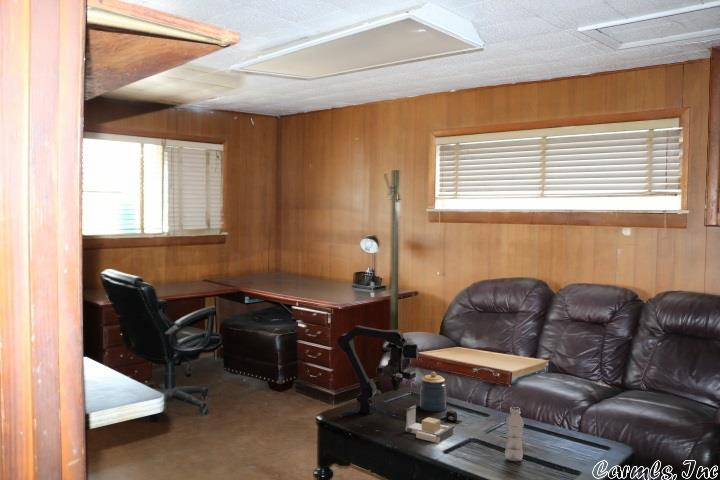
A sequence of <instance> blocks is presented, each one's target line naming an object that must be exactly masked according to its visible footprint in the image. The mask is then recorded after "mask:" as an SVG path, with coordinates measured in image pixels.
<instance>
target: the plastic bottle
mask: <svg viewBox="0 0 720 480" xmlns="http://www.w3.org/2000/svg"><path fill="white" fill-rule="evenodd" d="M505 422H506V424H505V425H506V446H505V452H504V454H505V458H506V459H507V460H508V461H512V462H519V461H522V460H523V456H524V451H523V443H522V442H523V440H522V439H523V429H524V426H525V425H524V423H525V422H524V419H523V418H522V417H521V408H520V407H517V406H516V407H515V406H512V407H510V408H509V415H508V416H507V418H506V421H505Z"/></svg>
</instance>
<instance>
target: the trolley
mask: <svg viewBox="0 0 720 480" xmlns="http://www.w3.org/2000/svg"><path fill="white" fill-rule="evenodd" d="M416 408H417V405H416V404H414V405H412V406H410V407H408V408H406V410H405V411H406V425H405V432H407V433H409V434H415V435H416V432H417V431H419V432H423V433H427V434H431V435H435V436H436V434H438V433H440V432H442V431H443V430H445V429H443V428H442V429H440V425H441V420H440V419H437V418H434V417H429V416H428V417H426V418H424V419H422V420H421V422H416V420H417V419H416V415H417V414H416V413H417V411H416V410H417V409H416Z"/></svg>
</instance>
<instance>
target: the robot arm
mask: <svg viewBox="0 0 720 480" xmlns="http://www.w3.org/2000/svg"><path fill="white" fill-rule="evenodd" d="M357 336H363V337H369V338H376V339H380V340H384V341H386V342H387V343H388V344H387V345H386V346H385V348H387V349H389V359H387V364H386V365H380V366H377V367H376V369H375V370H376V371H375V374H378V375H383V376H384V377H387V378H388V379H389V380H390V382H391V385H392V388H393V391H395V392H397V391H398V389H399V387H400V384H401V383H402V380H403V379H404V380H412V379H415V378H416V377H417V376H416V375H417V373H416V371H414V370H409V369H408V370H404V367H403V362H404V359H403V358H405V359H411V360H418V358H419V354H420V353H419V347H418V346H419V345H418V344H417V343H408V341H407V340H406V338H405V337H404V334H403V331H401V330H400V329H387V330H386V329H379V328H375V327H368V326H364V325H363V326H362V325H361V324H360V325H359V324H358V325H356V326H355V327H354V328H353V329H351V330H349V332H345V333H343V334H341V335H340V336H338V338H337V341H336V342H337V345H338V347H339V348H340V349H341V351H342V352H343V353H344V354H345V355H346V357H347V359H348V361H349V363H350V366H351V367H352V368H351V369H353V372H354V374H355V376H356V378H357V380H358V383H359V390H360V393H359V394H358V395H357V396H356V400H357V401H356V402H357V405H356V406H357V410H356V411H355V414H359V415H363V416H369V415H371V414H373V413H374V411H375V410H373V400H372V398H373V397H374V395H375V394H376V392H377V385H376V383H375V381H374V378H371V379H370V378H369V377H368V375H367V373H366V370H365V368H364V366H363V364H362V363H361V361H360V358H359V355H358V354H357V352H356V349H355V342H354V339H355V338H357Z"/></svg>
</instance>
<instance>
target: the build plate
mask: <svg viewBox="0 0 720 480" xmlns="http://www.w3.org/2000/svg"><path fill="white" fill-rule="evenodd" d="M439 420H440V421H443V422H446V423H452V424H455V425H459V424H462V423H463V422H464V420H460V419H458V413H457V411H456V410H455V411H453V410H446V413H445V416H444V417H442V418H440V419H439Z"/></svg>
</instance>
